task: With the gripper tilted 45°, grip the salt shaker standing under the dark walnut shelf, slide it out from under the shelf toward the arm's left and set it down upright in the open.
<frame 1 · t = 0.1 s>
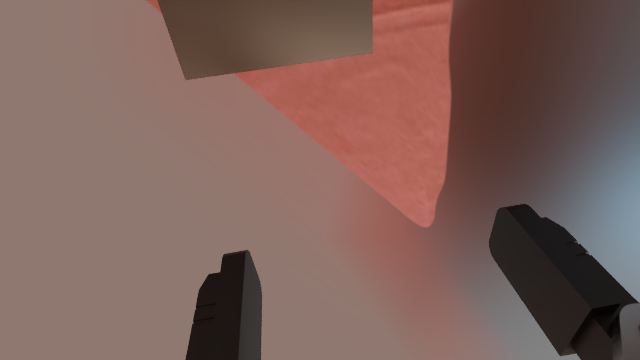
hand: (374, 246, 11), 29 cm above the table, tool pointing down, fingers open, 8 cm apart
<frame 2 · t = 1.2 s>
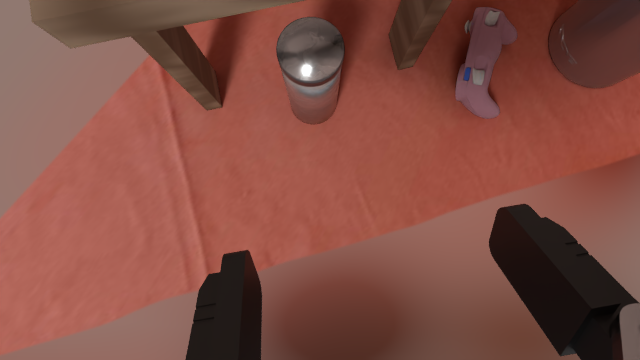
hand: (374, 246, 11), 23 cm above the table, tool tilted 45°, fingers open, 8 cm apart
video game controller: (473, 74, 36), on the table
walnut shelf: (310, 88, 35), on the table
salt shaker: (313, 102, 35), on the table
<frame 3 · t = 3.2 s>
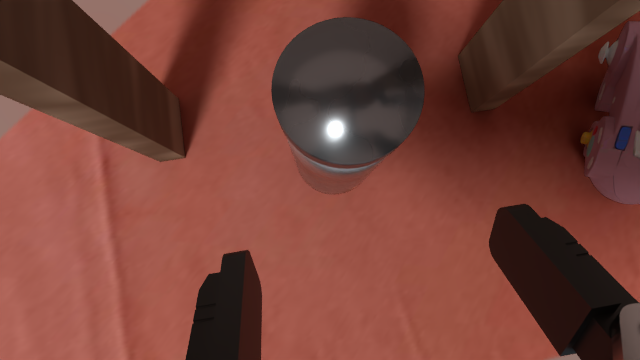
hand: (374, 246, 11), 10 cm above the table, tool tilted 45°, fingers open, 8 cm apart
video game controller: (597, 127, 22), on the table
walnut shelf: (329, 134, 22), on the table
salt shaker: (333, 157, 22), on the table
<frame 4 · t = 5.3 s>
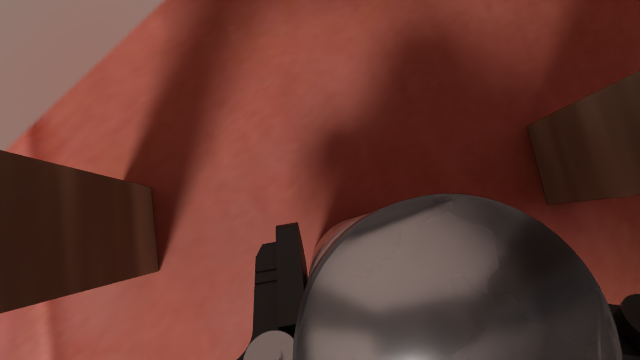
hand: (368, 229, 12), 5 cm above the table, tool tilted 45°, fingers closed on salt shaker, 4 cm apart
walnut shelf: (356, 237, 16), on the table
salt shaker: (361, 268, 16), on the table, touching gripper
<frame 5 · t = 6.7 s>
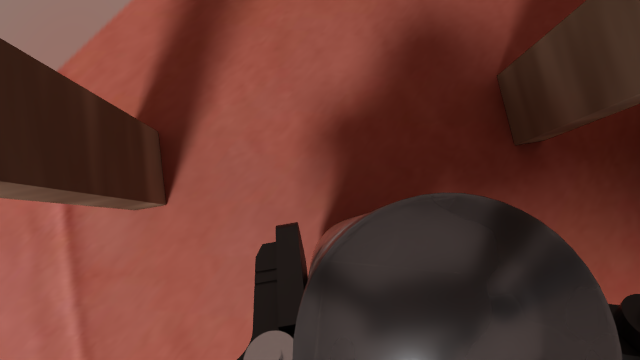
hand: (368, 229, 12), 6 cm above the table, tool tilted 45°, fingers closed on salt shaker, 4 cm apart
walnut shelf: (343, 174, 18), on the table
salt shaker: (361, 268, 16), point 1 cm above the table, touching gripper
when the fingers open (6 cm above the table, at t = 8.6 s): salt shaker stays where it is, on the table.
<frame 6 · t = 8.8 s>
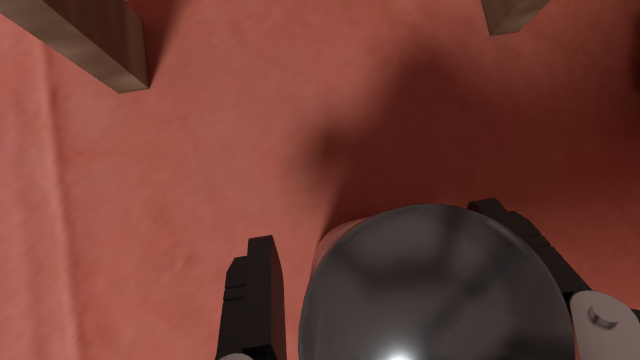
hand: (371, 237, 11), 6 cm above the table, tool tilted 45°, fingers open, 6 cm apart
walnut shelf: (322, 62, 18), on the table
salt shaker: (360, 268, 17), on the table
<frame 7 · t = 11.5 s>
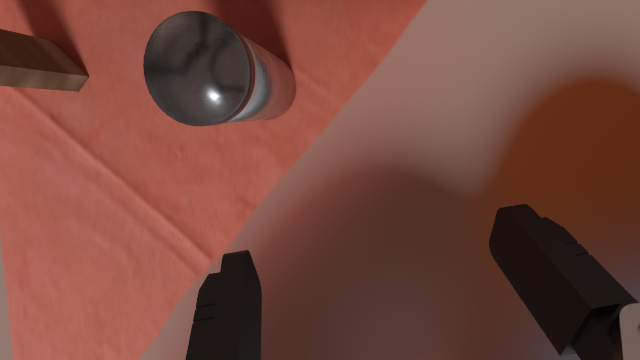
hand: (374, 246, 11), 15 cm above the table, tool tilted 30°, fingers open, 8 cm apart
salt shaker: (265, 87, 26), on the table
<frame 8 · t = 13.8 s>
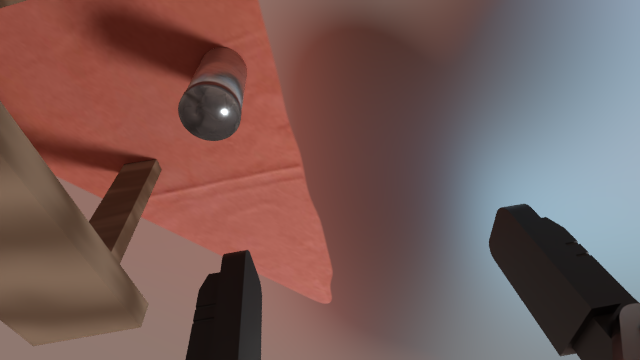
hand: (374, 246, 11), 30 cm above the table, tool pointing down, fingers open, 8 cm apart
walnut shelf: (121, 86, 36), on the table
salt shaker: (224, 70, 37), on the table
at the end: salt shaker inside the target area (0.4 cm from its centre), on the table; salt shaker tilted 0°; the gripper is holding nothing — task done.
